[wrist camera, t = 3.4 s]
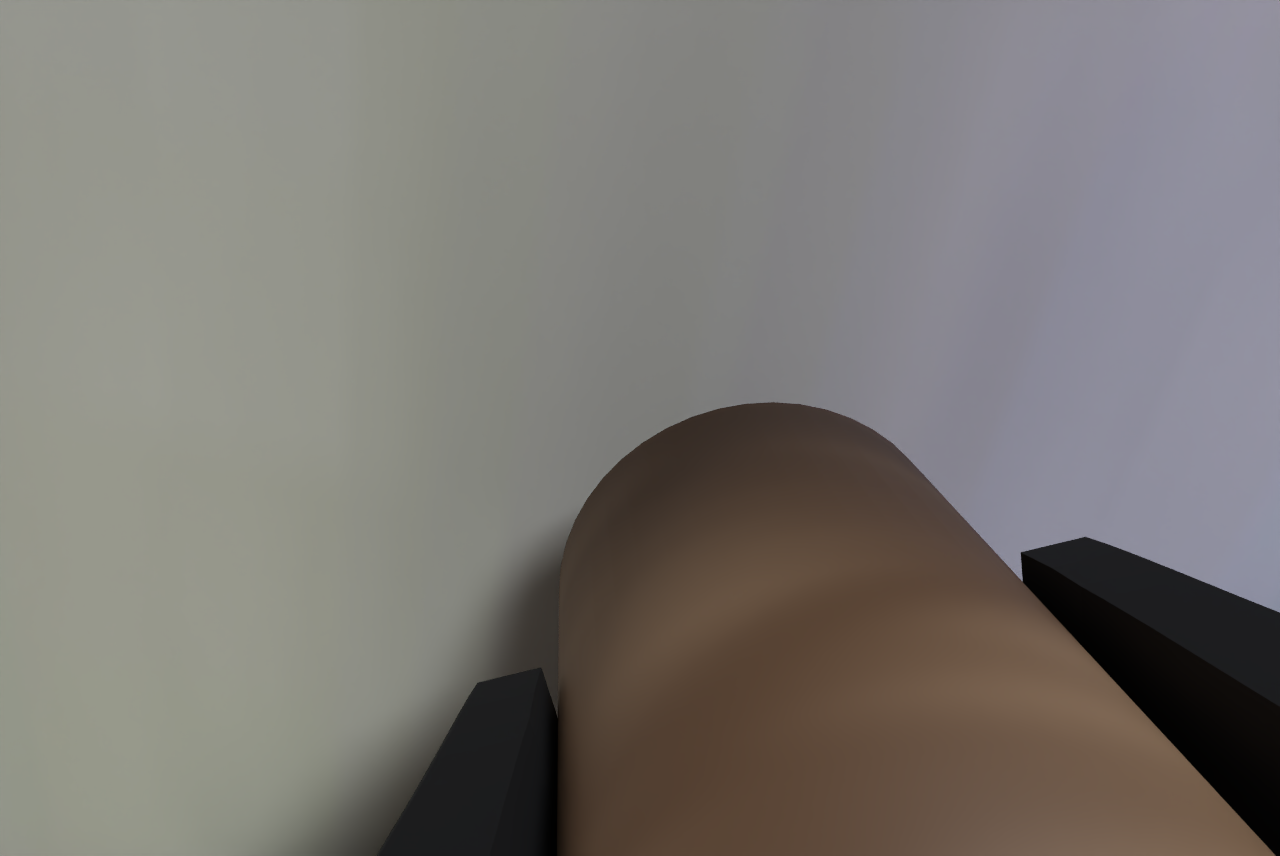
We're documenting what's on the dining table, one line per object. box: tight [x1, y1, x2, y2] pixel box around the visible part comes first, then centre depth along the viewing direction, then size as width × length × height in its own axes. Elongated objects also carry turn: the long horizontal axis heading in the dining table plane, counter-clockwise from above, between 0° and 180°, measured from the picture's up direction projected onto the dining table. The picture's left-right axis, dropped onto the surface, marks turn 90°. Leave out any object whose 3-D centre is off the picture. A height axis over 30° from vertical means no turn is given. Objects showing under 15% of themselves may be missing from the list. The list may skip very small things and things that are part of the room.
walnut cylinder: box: [557, 402, 1276, 856], centre depth 7 cm, size 4×4×7 cm
